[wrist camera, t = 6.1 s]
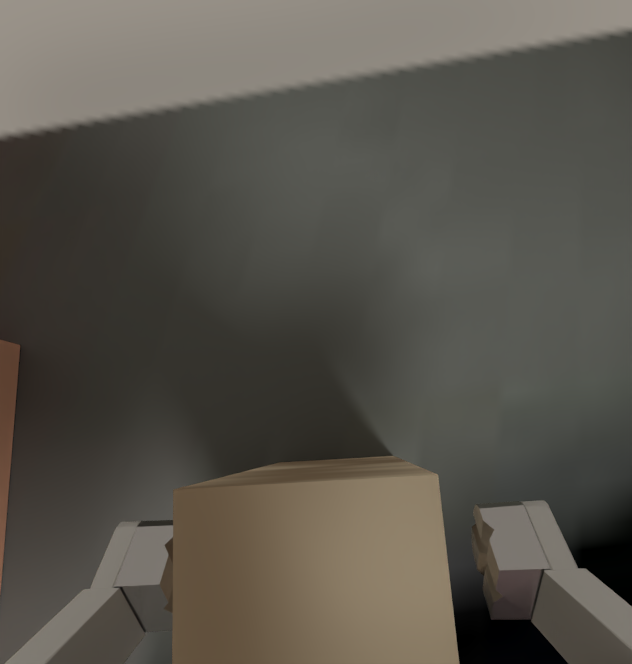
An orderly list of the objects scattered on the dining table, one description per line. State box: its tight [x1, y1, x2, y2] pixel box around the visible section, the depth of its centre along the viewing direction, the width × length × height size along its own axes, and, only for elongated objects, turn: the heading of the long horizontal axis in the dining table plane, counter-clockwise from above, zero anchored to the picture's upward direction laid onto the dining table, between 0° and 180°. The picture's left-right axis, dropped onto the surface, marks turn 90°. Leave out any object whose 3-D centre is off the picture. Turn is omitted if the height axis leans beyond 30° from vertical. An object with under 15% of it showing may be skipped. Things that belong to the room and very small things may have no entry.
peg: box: [172, 456, 459, 664], centre depth 12 cm, size 4×4×10 cm
